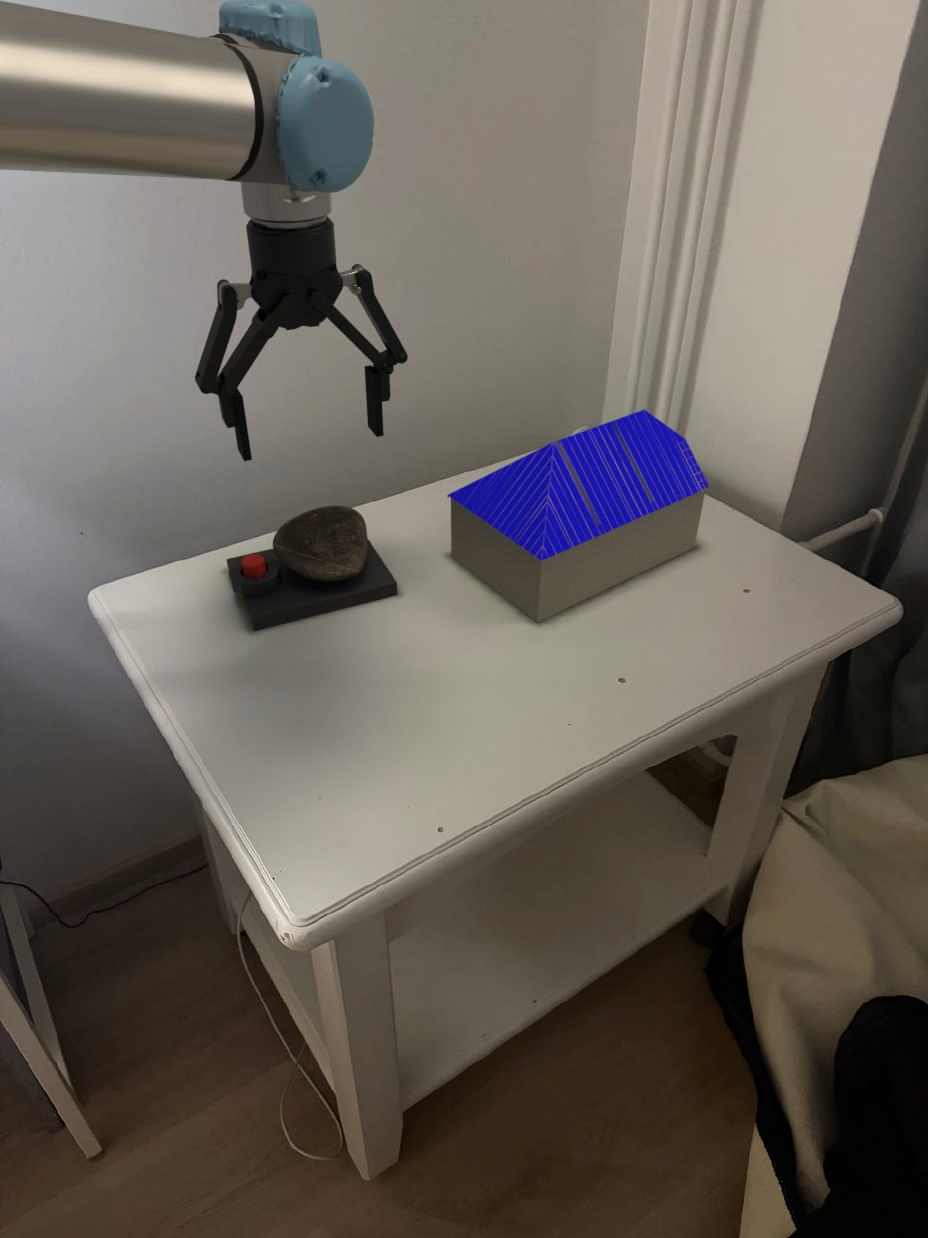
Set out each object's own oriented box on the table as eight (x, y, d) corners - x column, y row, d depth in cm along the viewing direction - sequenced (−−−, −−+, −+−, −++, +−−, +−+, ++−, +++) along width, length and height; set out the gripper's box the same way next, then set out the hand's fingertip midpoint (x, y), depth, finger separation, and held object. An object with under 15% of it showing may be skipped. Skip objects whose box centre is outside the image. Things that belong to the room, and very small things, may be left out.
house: (603, 492, 116) (616, 376, 106) (697, 547, 106) (722, 425, 96) (447, 555, 104) (446, 432, 94) (536, 624, 94) (545, 494, 84)
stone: (399, 568, 99) (397, 529, 96) (319, 606, 93) (314, 567, 90) (339, 527, 105) (335, 490, 102) (261, 561, 100) (255, 523, 97)
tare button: (246, 580, 94) (244, 568, 93) (241, 569, 96) (239, 557, 95) (268, 575, 95) (266, 563, 94) (263, 563, 97) (261, 552, 96)
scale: (247, 633, 92) (242, 606, 90) (222, 572, 101) (217, 546, 99) (397, 594, 98) (396, 568, 96) (361, 540, 106) (359, 515, 104)
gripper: (147, 243, 70) (193, 482, 83) (439, 214, 78) (440, 436, 91) (133, 220, 75) (179, 448, 88) (408, 196, 84) (413, 408, 96)
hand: (312, 443), depth 90 cm, fingers open, 13 cm apart
